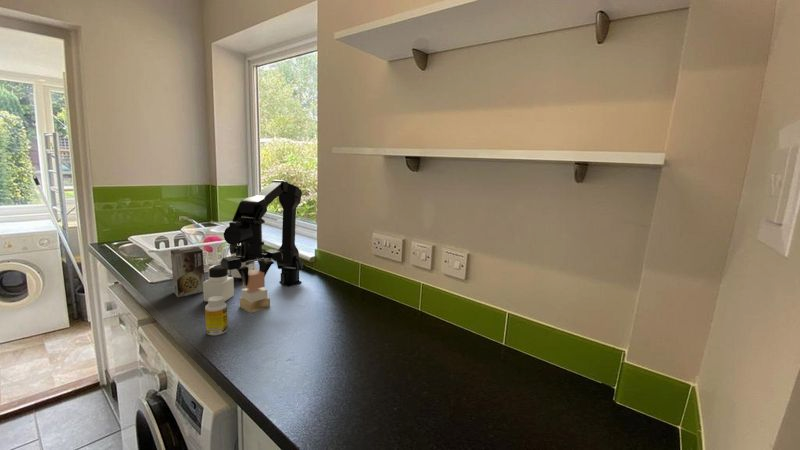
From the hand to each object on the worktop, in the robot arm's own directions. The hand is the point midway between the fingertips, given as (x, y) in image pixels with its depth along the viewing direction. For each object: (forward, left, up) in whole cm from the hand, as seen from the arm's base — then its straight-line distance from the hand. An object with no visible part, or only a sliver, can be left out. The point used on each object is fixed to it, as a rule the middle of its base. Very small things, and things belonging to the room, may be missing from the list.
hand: (253, 283), depth 117 cm
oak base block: (0, 0, -9) cm, 9 cm away
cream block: (0, 0, -5) cm, 5 cm away
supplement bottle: (+16, +9, -8) cm, 20 cm away
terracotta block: (0, 0, -1) cm, 1 cm away
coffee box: (+10, -28, -8) cm, 31 cm away
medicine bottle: (+5, -15, -8) cm, 18 cm away
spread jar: (-11, -32, -9) cm, 35 cm away
